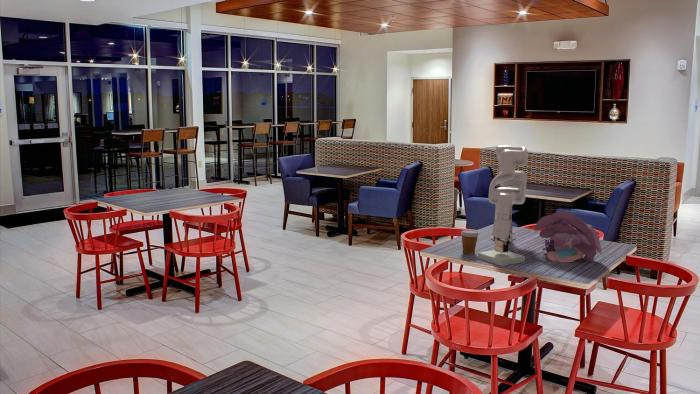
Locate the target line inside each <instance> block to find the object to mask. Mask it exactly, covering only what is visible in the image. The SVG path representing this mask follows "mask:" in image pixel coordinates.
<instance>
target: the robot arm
mask: <svg viewBox="0 0 700 394" xmlns="http://www.w3.org/2000/svg"><path fill="white" fill-rule="evenodd" d="M494 153H495V155H496V158H497V161H498V174H497V175H496V176H494V177H493V178H492V179H491V182H490V184H489V187H488V201H489V203H491V204H492V205H495V208H494V209H495V210H494V222H493V226H492V232H491V236H490V239H491V240H493V241H495V240H498V239H504V244H505V245H504V246H503V252H508V247H509V248H510V244H511V243H512V242H514V240H515V239H514V236H515V235H516V232H515V231H513V221H512V213H513V205H523V204H524V203H525V202H526V195H527V194H526V193H527V182H528V181H527V180H528V177H527V174H526V172H525V171H523V170H516V166H519V167H520V166H521V167H525V166H526V165H527V162H528V149H527V147H526V146H523V145H522V146H520V145H519V146H518V145H503V144H501V145H497V146H496V147H495V152H494ZM496 186H501V187H497V188H496ZM495 188H496V189H495ZM506 240H507V241H506Z"/></svg>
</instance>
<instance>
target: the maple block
mask: <svg viewBox="0 0 700 394" xmlns="http://www.w3.org/2000/svg"><path fill="white" fill-rule="evenodd" d="M506 241H507V240H506ZM504 245H505V244H504V239H498V240H494V250H495V251H496V252H500V253H506V252H503V246H504ZM509 249H510V246H509V247H508V251H509ZM509 252H510V251H509Z"/></svg>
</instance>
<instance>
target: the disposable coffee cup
mask: <svg viewBox="0 0 700 394" xmlns="http://www.w3.org/2000/svg"><path fill="white" fill-rule="evenodd" d="M460 234H461V246H462V253H463V254H467V255H474V254H475V253H476V248H477V247H476V246H477V243H478V237H479V232H478V230H475V229H462V230H461V232H460Z"/></svg>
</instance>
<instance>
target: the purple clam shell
mask: <svg viewBox="0 0 700 394" xmlns="http://www.w3.org/2000/svg"><path fill="white" fill-rule="evenodd" d="M534 226H535V228H534V232H537V231H539V230H541V231H540V232H539V236H540V238H542V239H544V246H545V247H543V248H541V250H542V252H544V253H545V254H546V257H547V259H549V260H550V261H555V262H558V261H559V263H572V262H575V261H576V260H580V259H582V258H583V260H584V259H585V260H584V261H586V260H588V261H587V262H589V261H590V263H591V262H593V261H594V258H595V256H596V255H597V252H598V253H599V254H600V255H602V246H601V240H600V236H599V233H598V232H597V231H596V229H595V228H594V227H593V226H592V225H591V224H587V223H586V222H585V221H583V220H582V218H581V217H579V216H577V215H575V214H574V213H573V212H572V213H571V212H569V211H565V210H561V211H557V212H554V213H552V214H547V215H545V216H543V217H541V218H540V219H539V220H538V221H537V222H536V224H535V225H534Z"/></svg>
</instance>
